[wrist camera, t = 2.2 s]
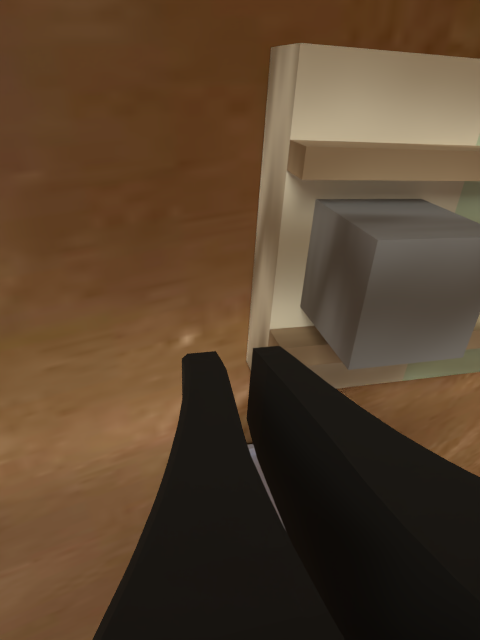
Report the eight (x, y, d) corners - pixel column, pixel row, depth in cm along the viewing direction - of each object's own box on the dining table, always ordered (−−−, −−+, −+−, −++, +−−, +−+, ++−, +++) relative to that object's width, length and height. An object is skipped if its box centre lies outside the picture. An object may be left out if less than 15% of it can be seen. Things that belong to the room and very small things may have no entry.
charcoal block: (394, 300, 19) (462, 357, 15) (300, 306, 18) (348, 369, 14) (421, 198, 17) (509, 236, 13) (315, 199, 16) (378, 240, 12)
